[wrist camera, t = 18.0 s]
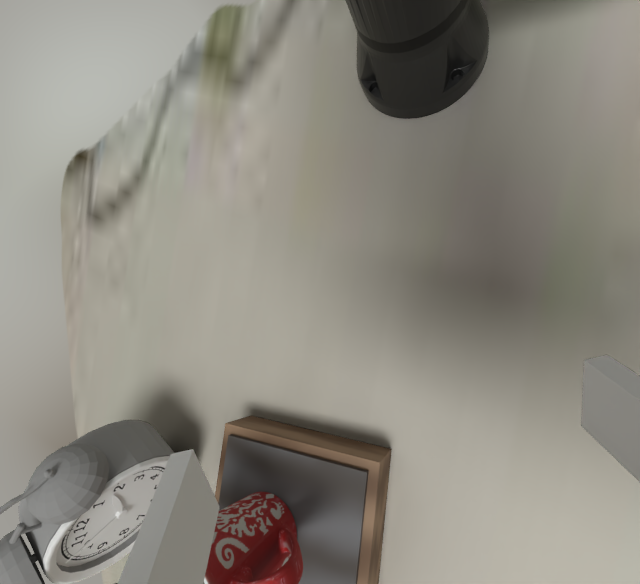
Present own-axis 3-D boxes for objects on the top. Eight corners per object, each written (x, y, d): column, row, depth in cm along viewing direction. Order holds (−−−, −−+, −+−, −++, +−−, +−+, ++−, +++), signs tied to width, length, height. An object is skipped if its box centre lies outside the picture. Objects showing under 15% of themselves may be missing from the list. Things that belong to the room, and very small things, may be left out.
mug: (234, 579, 38) (122, 687, 26) (223, 485, 41) (114, 544, 28) (347, 580, 34) (277, 708, 22) (329, 475, 36) (255, 539, 24)
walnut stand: (251, 415, 47) (222, 424, 42) (391, 448, 40) (378, 464, 35) (230, 565, 45) (197, 595, 40) (373, 628, 38) (357, 674, 33)
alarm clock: (158, 545, 50) (-55, 677, 30) (122, 500, 53) (-91, 590, 33) (217, 442, 49) (36, 506, 29) (175, 403, 52) (-11, 435, 32)
